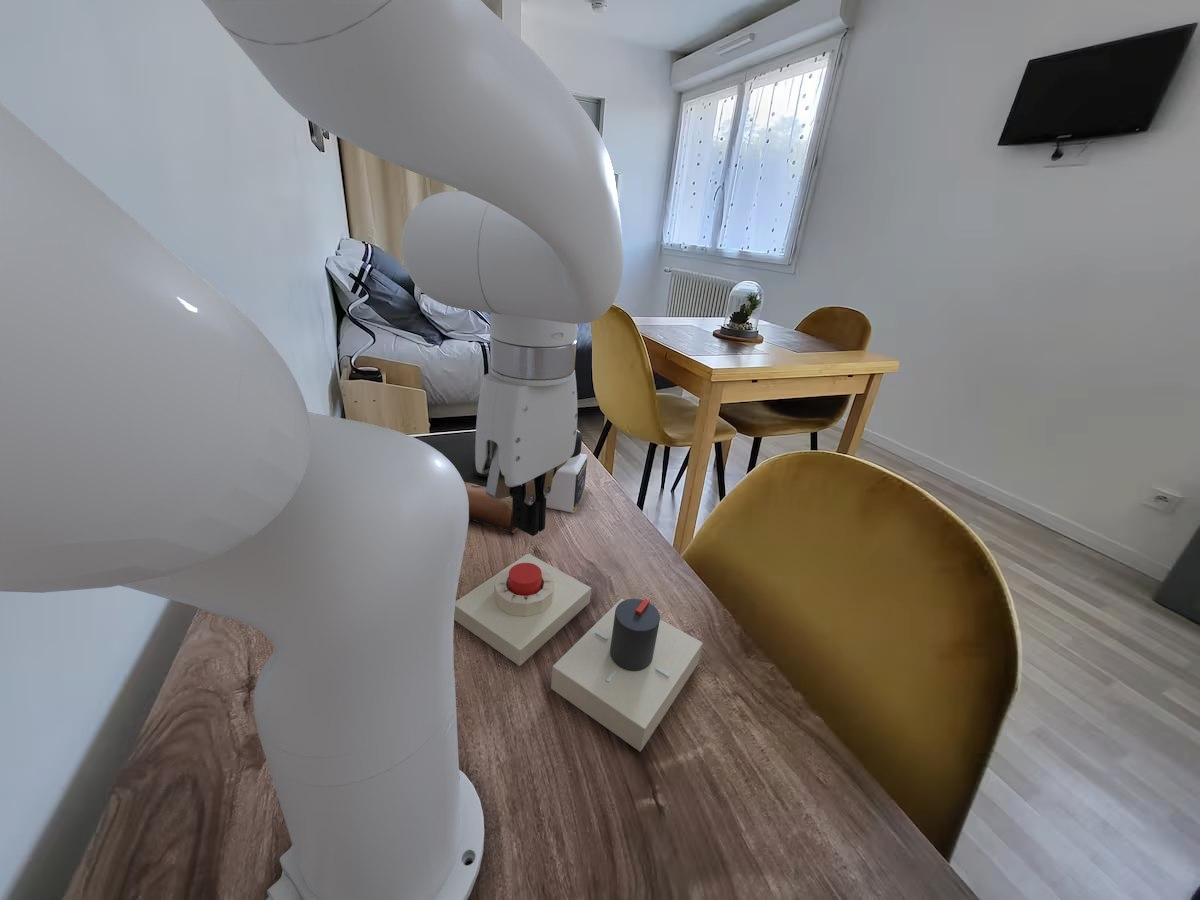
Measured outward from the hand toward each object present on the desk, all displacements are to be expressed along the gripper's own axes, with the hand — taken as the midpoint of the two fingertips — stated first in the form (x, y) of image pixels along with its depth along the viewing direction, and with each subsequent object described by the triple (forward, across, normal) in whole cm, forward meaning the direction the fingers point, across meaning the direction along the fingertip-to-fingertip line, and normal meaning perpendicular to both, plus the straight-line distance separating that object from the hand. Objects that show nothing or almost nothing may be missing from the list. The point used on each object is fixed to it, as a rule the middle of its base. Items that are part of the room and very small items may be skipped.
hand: (528, 527), depth 51 cm
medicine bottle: (+12, -21, -13) cm, 28 cm away
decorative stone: (+12, -25, -27) cm, 39 cm away
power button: (+7, +1, 0) cm, 7 cm away
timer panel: (+11, +1, +14) cm, 18 cm away
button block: (+11, +1, 0) cm, 11 cm away
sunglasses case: (+12, -10, -20) cm, 25 cm away
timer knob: (+8, +1, +14) cm, 16 cm away
